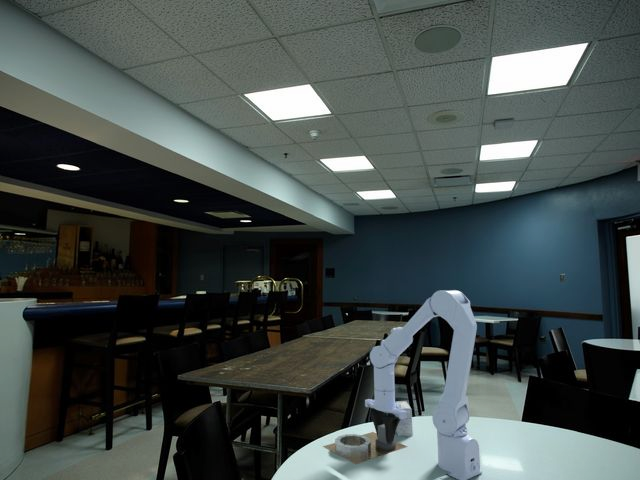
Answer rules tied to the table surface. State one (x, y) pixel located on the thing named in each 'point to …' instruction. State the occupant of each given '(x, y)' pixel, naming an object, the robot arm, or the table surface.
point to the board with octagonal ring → (358, 447)
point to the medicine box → (405, 421)
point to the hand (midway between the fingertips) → (385, 439)
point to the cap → (384, 440)
